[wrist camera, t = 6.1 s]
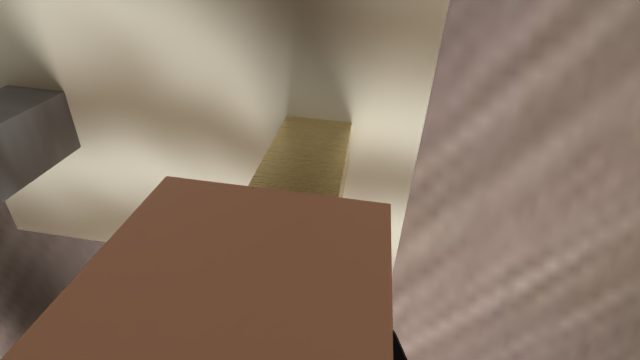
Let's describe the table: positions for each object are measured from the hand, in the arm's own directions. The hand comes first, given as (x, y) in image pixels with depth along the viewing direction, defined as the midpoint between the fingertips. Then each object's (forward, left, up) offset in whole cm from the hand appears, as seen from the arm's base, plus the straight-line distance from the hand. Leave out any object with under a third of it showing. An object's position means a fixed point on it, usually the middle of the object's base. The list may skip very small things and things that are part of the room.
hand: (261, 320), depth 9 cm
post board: (0, +6, -10) cm, 11 cm away
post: (0, 0, -10) cm, 10 cm away
